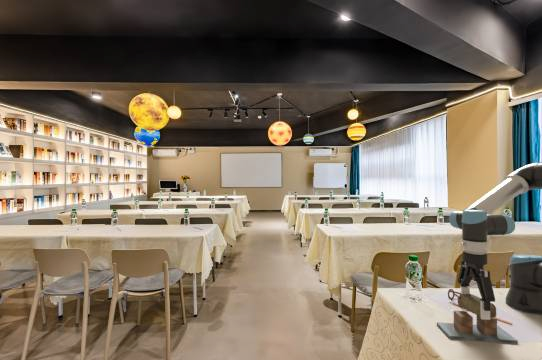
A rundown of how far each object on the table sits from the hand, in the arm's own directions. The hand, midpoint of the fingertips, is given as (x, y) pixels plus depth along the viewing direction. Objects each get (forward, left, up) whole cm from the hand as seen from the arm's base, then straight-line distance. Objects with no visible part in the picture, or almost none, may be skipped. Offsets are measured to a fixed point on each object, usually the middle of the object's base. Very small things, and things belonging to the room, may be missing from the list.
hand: (474, 311), depth 104 cm
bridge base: (0, 0, -8) cm, 8 cm away
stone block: (-1, 0, -1) cm, 1 cm away
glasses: (-13, -29, -9) cm, 33 cm away
